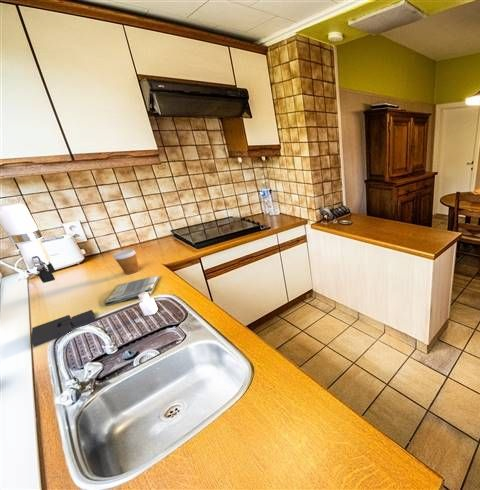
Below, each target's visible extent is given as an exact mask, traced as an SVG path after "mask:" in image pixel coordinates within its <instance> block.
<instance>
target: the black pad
mask: <svg viewBox="0 0 480 490" xmlns="http://www.w3.org/2000/svg"><path fill="white" fill-rule="evenodd" d="M95 315H96V314H95V313H94V311H93V309H89V310H87V311H84V312H81V313H78V314H76V315H73V316H71V319H69V320H66V321H63V322H61V326H63V325H66V324H68V323H70V324H71V325H72V327H73V328H79V327H81V326H84V325H87V324H89V323H92V322H94V321H96V320H97V319H96V316H95Z"/></svg>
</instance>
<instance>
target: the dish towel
mask: <svg viewBox="0 0 480 490" xmlns="http://www.w3.org/2000/svg"><path fill="white" fill-rule="evenodd" d="M159 280H160V275H154V276H149V277H145V278H142V279H141V278H140V279H138V280H137V279H136V280H132V281H128V282H124V283H121V284H117V285H116V287H115V289H114V290H113V292H112V293H111V294H110V296H109V297H108V298H107V299H106V300H105V302H104V303H103V305H104V306H106V307H107V306H110V305H115V304H118V303H122V302H126V301H127V302H128V301H131V300H134V299H139V297H138V295H139V294H141V293H143V292H148V294H149V296H151V295H152V293H153V291H154V289H155V287H156V286H157V283H158V281H159Z"/></svg>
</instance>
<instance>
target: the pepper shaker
mask: <svg viewBox="0 0 480 490" xmlns="http://www.w3.org/2000/svg"><path fill="white" fill-rule="evenodd" d="M138 297H139V298H138V299H139V300H140V302H139V303H138V305H139V307H140V310H141V312H142V314H143V316H144V317H147V316H152V315H155V314H157V312H158V310H159V308H158V305H157V303H156V301H155V298H154V297H150V295H149V294H148V292H143V293H141V294H139V295H138Z"/></svg>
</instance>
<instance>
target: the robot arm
mask: <svg viewBox="0 0 480 490" xmlns="http://www.w3.org/2000/svg"><path fill="white" fill-rule="evenodd" d="M0 226H1V228H2V230H3V231H4V232H5V234H6V236H7V238H8V239H9V241H10V243H11V244H12V245H17V248H18V250H19V252H20V254H21V256H22V257H23V259H24V262H25V263H26V265H27V267H28V269H30V270H33V269H35V271H36V273H37V276H38V277H39V279H40V281H41V282H42V284H45V283H49V282H52V281H55V280H56V277H55V276H54V273H56V270H55V267H54V266H53V264H52V263H51V262H50V257H49V254H48V252H47V250H46V248H45V246H44V245H43V243H42V241H41V240H43V239H44V236H43V234H42V232H41V230H40V228H39V226H38V225H37V223H36V221H35V219H34V218H33V216H32V214H31V212H30V211H29V209H28V207H27V205H26V204H24V203H22V202H8V203H2V204H0Z"/></svg>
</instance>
